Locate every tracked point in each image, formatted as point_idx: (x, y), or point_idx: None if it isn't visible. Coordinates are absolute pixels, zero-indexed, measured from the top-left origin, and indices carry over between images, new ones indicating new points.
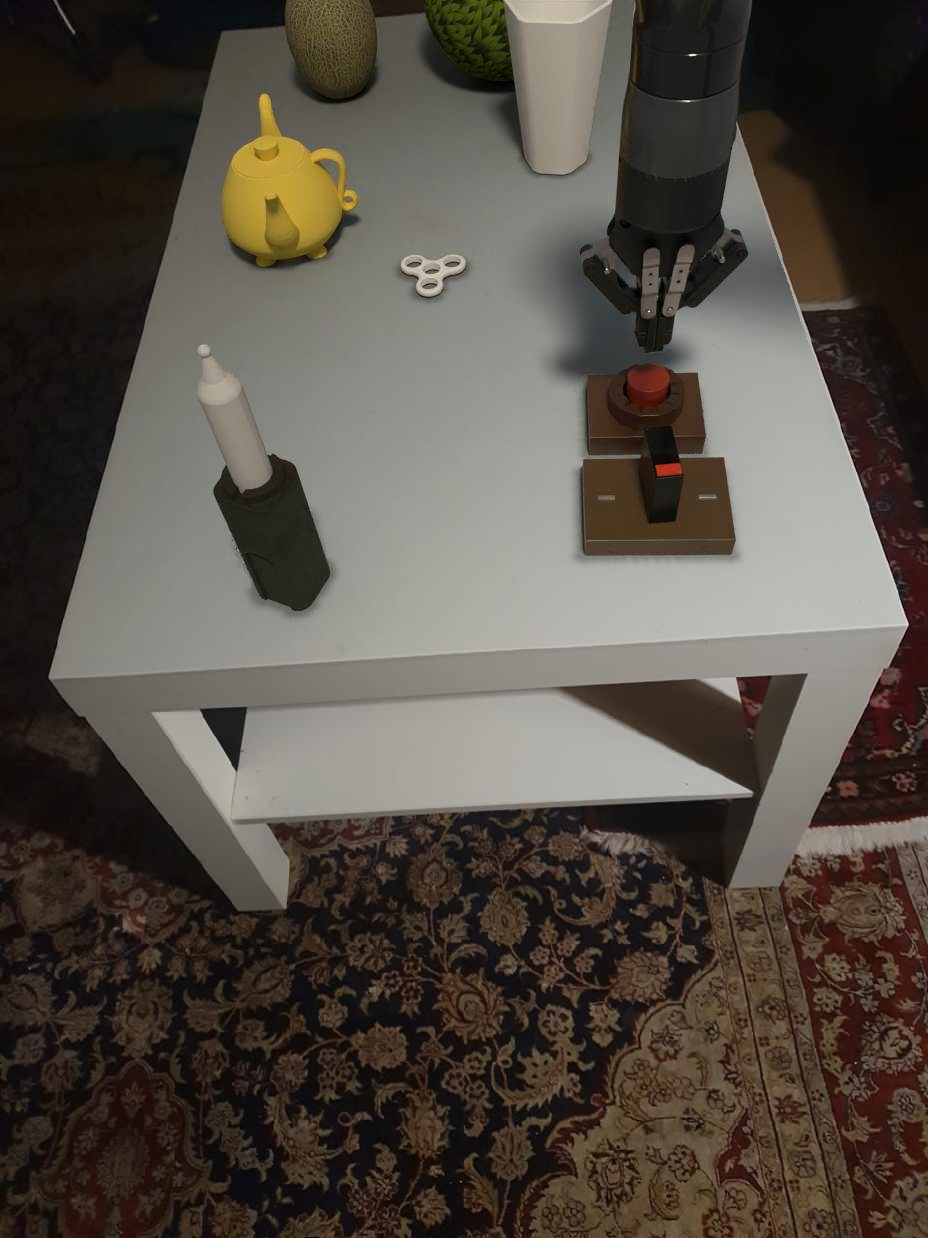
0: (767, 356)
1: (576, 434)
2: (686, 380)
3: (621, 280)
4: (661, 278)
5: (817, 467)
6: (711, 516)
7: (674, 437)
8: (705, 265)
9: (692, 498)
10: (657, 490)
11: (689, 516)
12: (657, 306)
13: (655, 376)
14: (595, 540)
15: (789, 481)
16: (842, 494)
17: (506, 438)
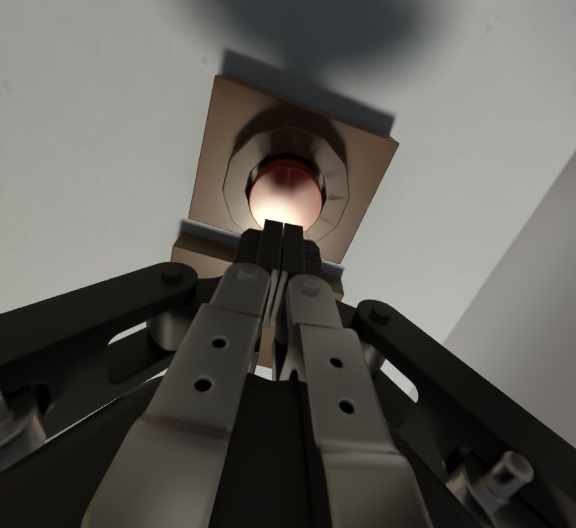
0: (544, 100)
1: (187, 162)
2: (371, 156)
3: (145, 321)
4: (288, 338)
5: (441, 302)
6: None
7: (255, 366)
8: (423, 420)
9: None
10: None
11: (270, 345)
12: (281, 292)
13: (297, 207)
14: None
15: (402, 308)
16: (438, 334)
17: (79, 133)
